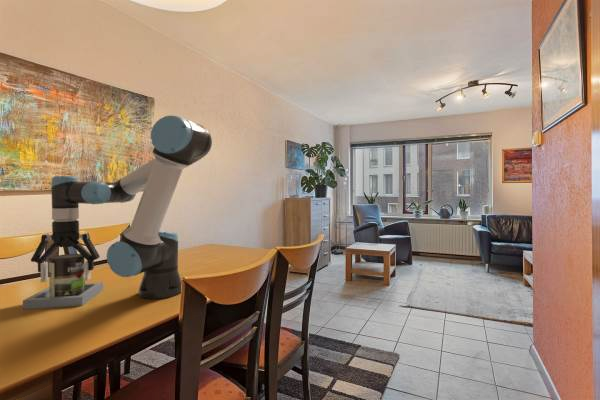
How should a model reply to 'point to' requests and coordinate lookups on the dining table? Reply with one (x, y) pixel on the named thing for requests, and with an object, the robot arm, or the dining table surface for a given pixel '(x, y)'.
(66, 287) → the coffee can
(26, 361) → the dining table surface
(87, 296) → the grey square tray
